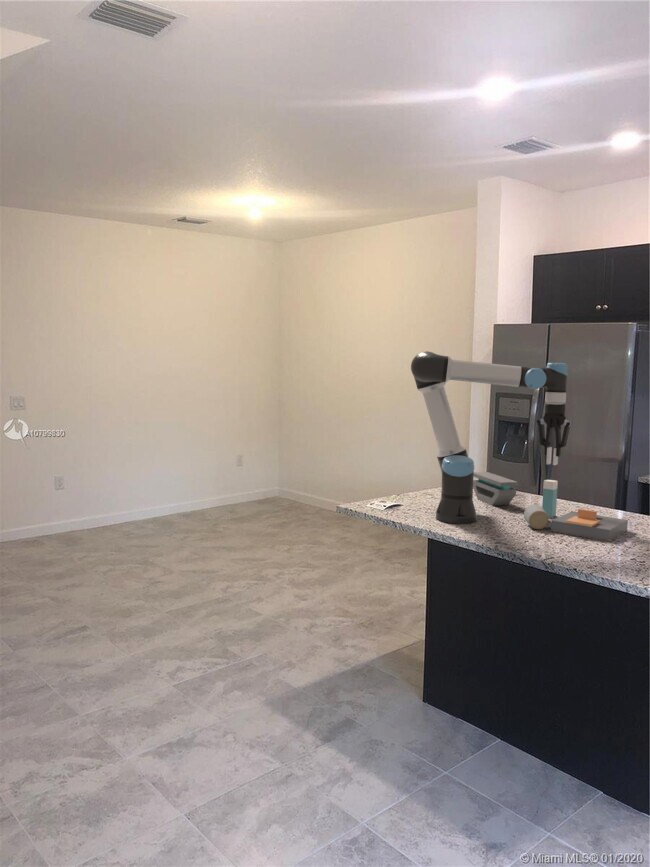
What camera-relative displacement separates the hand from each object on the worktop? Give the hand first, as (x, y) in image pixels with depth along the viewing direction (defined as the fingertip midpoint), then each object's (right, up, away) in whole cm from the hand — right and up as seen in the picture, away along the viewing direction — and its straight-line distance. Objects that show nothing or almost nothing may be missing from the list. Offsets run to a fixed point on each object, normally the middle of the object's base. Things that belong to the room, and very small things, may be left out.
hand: (551, 464), depth 268 cm
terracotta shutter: (+3, -19, -26) cm, 32 cm away
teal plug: (0, -20, +2) cm, 20 cm away
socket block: (+7, -23, -20) cm, 31 cm away
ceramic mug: (-10, -23, -16) cm, 29 cm away
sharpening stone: (-16, -18, +27) cm, 36 cm away
